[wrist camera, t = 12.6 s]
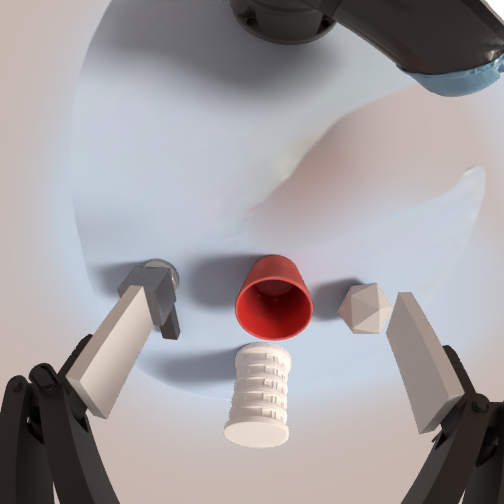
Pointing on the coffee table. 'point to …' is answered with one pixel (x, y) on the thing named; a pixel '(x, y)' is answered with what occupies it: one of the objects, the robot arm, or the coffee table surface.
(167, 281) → the grey wood-grain cube
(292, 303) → the flower pot
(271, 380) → the decorative container
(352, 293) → the die
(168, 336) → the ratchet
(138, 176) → the coffee table surface
